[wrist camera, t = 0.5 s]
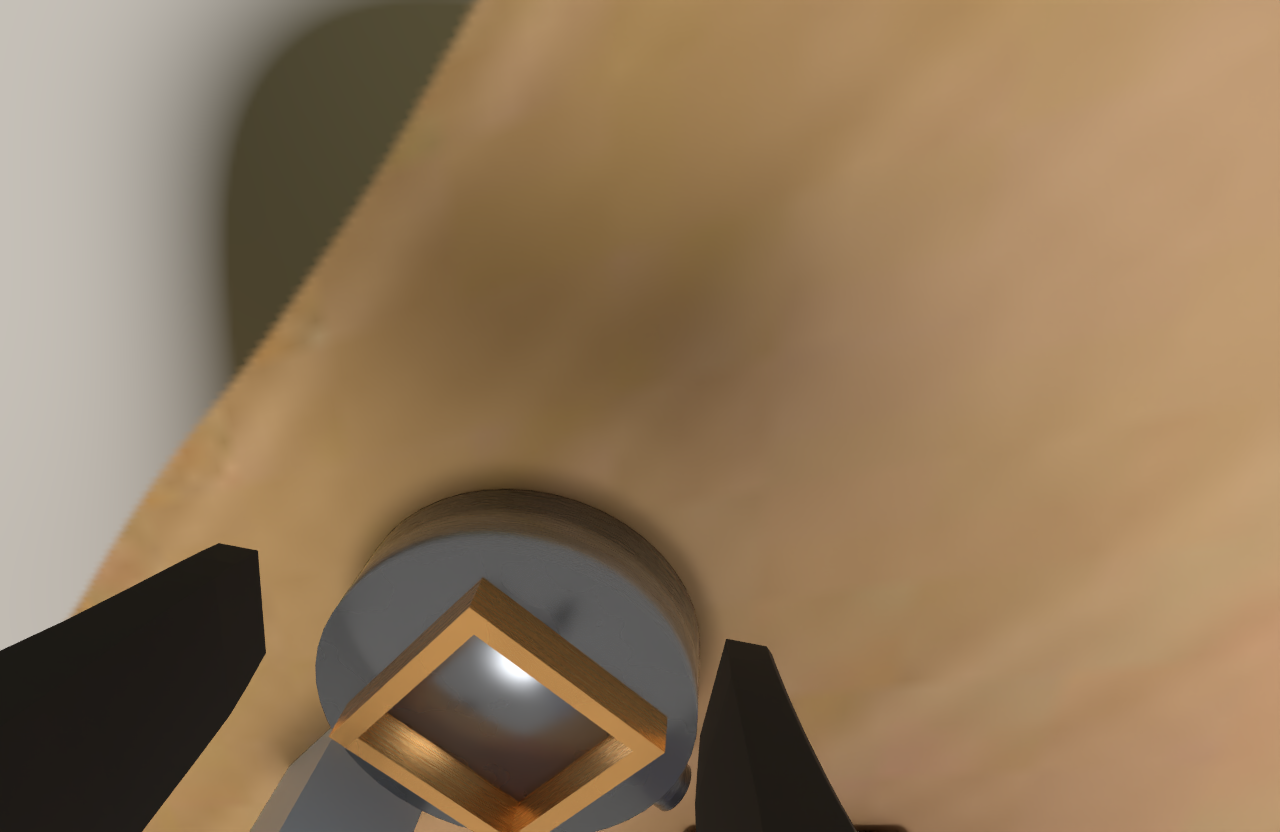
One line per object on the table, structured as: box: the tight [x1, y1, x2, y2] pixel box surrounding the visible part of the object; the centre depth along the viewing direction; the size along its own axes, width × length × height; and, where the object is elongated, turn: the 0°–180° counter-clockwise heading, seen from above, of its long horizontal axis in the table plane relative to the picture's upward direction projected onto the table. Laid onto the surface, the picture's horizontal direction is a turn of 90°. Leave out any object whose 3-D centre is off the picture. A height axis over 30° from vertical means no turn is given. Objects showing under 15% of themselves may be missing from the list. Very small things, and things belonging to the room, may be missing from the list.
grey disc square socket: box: [315, 489, 700, 832], centre depth 22 cm, size 12×11×4 cm
